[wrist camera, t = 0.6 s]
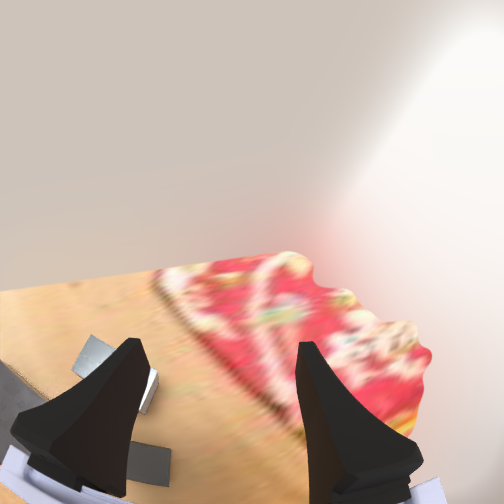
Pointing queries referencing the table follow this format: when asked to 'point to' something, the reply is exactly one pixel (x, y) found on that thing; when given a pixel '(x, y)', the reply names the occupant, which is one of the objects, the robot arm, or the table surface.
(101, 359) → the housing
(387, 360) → the table surface
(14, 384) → the stand
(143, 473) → the rubber block
